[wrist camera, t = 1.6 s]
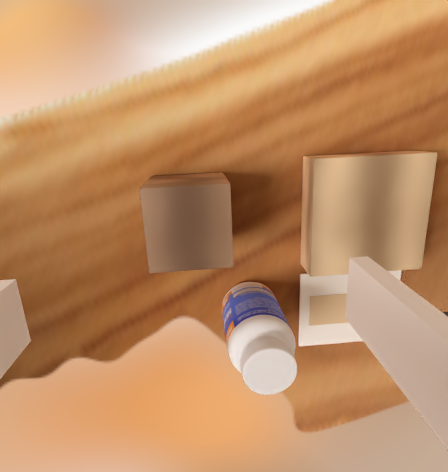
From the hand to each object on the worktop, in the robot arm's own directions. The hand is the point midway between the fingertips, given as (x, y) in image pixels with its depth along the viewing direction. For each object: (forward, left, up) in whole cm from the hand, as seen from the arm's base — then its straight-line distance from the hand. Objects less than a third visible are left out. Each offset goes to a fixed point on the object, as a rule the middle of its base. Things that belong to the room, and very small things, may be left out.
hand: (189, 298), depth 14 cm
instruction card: (+15, -11, -17) cm, 25 cm away
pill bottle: (+5, -10, -17) cm, 21 cm away
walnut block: (0, 0, -17) cm, 17 cm away
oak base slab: (+15, -1, -17) cm, 23 cm away
